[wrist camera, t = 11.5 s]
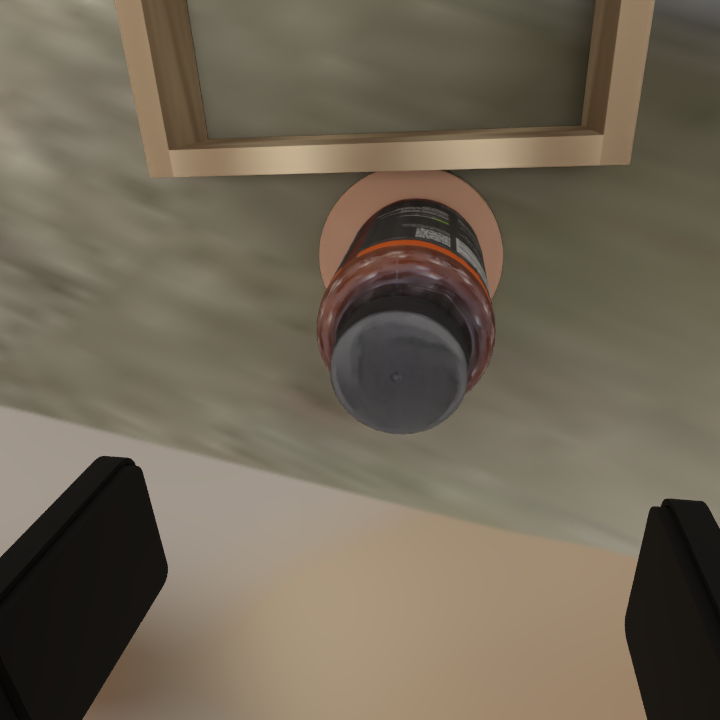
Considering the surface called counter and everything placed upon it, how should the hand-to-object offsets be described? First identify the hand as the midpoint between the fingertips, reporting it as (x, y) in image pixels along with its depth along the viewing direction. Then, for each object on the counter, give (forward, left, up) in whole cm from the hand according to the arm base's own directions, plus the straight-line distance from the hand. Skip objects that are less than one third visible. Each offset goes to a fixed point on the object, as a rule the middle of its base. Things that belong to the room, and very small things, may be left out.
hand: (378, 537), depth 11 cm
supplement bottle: (0, 0, -18) cm, 18 cm away
